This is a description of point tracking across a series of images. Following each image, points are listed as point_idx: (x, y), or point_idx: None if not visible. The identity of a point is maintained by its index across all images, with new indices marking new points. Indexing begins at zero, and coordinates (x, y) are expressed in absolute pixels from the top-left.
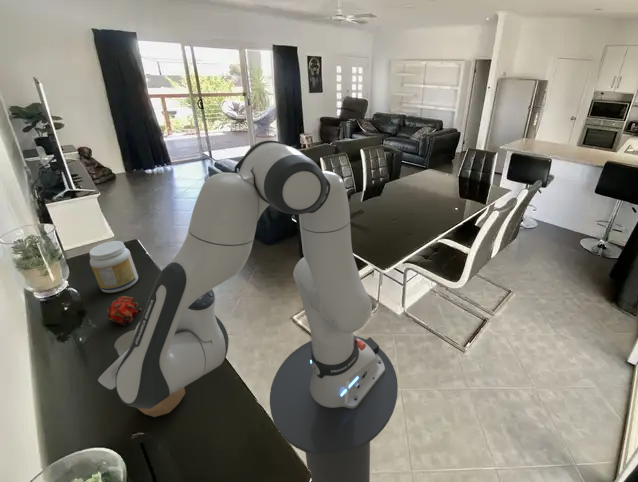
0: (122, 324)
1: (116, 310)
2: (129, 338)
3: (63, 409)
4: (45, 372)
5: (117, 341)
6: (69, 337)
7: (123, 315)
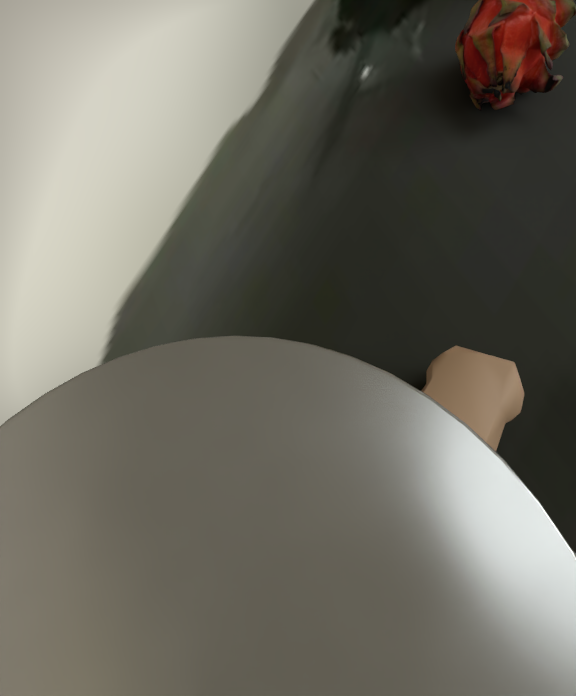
0: (473, 100)
1: (493, 26)
2: (195, 635)
3: (191, 268)
4: (250, 115)
5: (42, 431)
6: (351, 48)
7: (498, 65)
